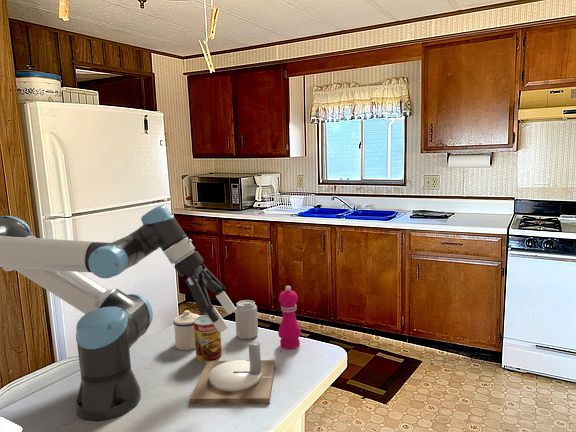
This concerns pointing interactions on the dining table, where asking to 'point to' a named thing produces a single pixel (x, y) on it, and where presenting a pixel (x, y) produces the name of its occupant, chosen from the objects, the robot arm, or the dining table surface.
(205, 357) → the canned food
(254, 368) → the dial
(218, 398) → the dial board
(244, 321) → the can
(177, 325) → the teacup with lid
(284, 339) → the pepper mill
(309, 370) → the dining table surface
